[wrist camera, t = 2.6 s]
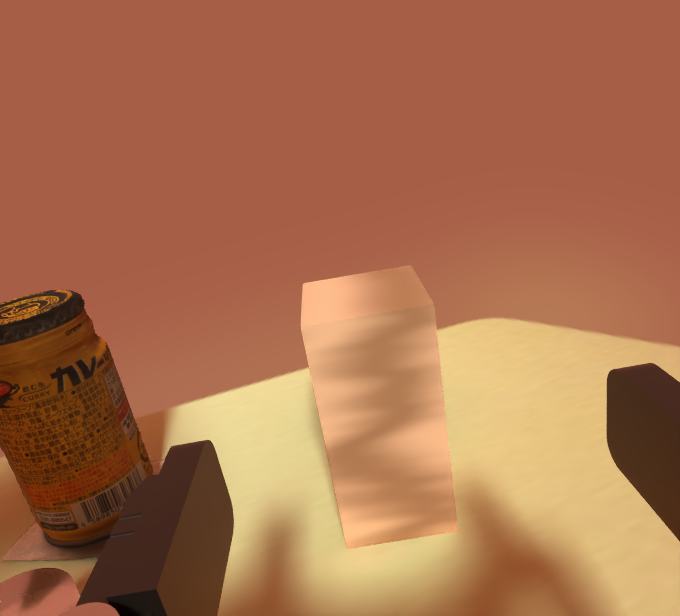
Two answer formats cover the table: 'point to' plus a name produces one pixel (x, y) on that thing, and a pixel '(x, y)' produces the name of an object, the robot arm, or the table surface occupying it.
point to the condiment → (65, 427)
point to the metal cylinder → (38, 593)
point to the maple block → (380, 404)
